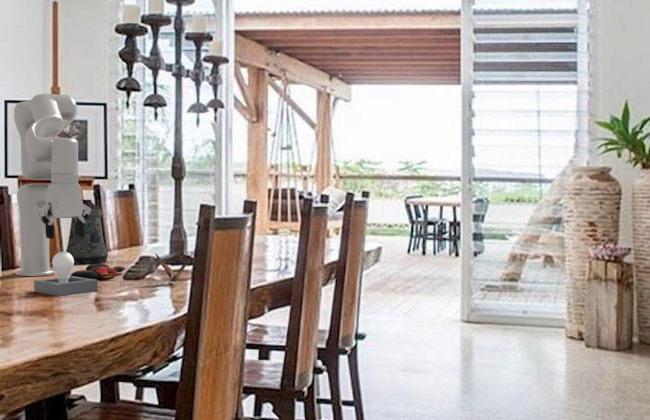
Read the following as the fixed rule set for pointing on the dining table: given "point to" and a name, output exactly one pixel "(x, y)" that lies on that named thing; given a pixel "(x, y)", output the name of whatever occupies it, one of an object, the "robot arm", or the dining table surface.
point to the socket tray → (65, 286)
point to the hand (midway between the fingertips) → (65, 237)
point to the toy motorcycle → (98, 271)
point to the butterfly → (169, 271)
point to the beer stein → (88, 239)
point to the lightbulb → (63, 265)
